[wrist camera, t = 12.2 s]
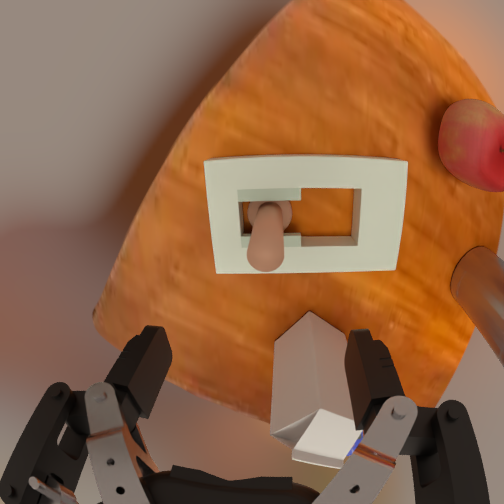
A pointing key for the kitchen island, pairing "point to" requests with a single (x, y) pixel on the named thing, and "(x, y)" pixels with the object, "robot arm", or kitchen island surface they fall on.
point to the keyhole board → (289, 188)
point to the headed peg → (267, 233)
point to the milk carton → (312, 393)
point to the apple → (473, 144)
